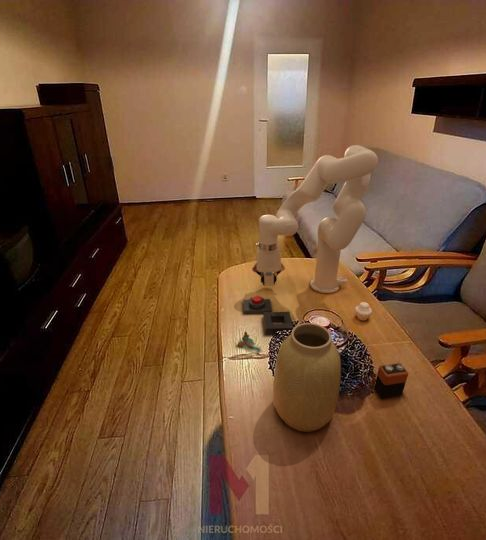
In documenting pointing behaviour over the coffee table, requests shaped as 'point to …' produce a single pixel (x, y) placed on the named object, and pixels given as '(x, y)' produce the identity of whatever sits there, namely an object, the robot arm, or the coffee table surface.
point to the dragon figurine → (247, 341)
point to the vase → (307, 378)
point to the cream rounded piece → (363, 311)
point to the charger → (268, 279)
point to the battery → (391, 380)
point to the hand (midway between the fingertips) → (268, 283)
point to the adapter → (276, 317)
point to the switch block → (256, 306)
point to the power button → (257, 299)
